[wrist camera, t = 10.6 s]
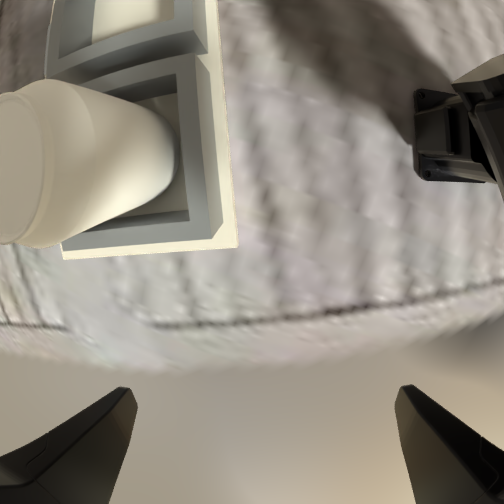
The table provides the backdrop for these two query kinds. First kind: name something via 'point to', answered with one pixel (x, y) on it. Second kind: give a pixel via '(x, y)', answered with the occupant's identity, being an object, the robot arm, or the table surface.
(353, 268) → the table surface
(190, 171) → the socket board
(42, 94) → the beverage can
